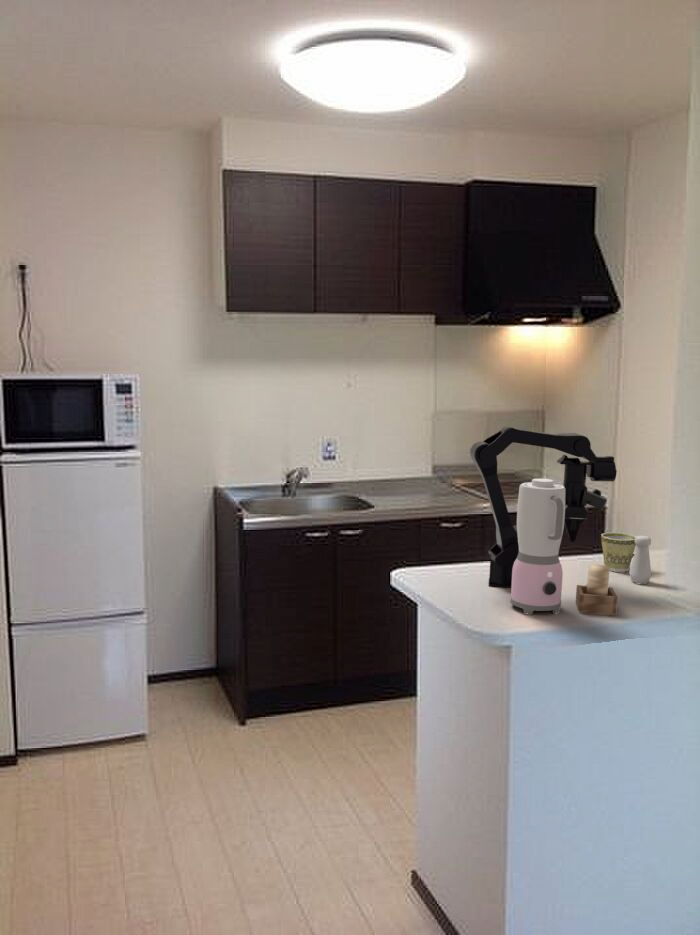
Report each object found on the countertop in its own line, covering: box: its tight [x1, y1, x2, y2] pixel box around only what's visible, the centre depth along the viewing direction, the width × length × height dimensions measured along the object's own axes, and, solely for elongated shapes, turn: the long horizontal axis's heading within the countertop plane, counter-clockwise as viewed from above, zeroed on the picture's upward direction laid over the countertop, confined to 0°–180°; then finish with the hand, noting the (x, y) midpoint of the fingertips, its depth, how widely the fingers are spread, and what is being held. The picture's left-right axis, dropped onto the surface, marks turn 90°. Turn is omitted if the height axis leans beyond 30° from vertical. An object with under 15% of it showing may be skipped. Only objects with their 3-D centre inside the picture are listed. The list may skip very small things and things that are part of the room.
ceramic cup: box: [600, 531, 637, 573], centre depth 257 cm, size 13×10×10 cm
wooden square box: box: [575, 584, 618, 617], centre depth 218 cm, size 9×9×5 cm
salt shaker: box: [628, 534, 652, 585], centre depth 244 cm, size 6×6×13 cm
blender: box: [510, 478, 565, 615], centre depth 214 cm, size 16×12×32 cm
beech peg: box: [586, 564, 611, 596], centre depth 218 cm, size 5×5×10 cm
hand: (571, 538), depth 238 cm, fingers open, 9 cm apart
